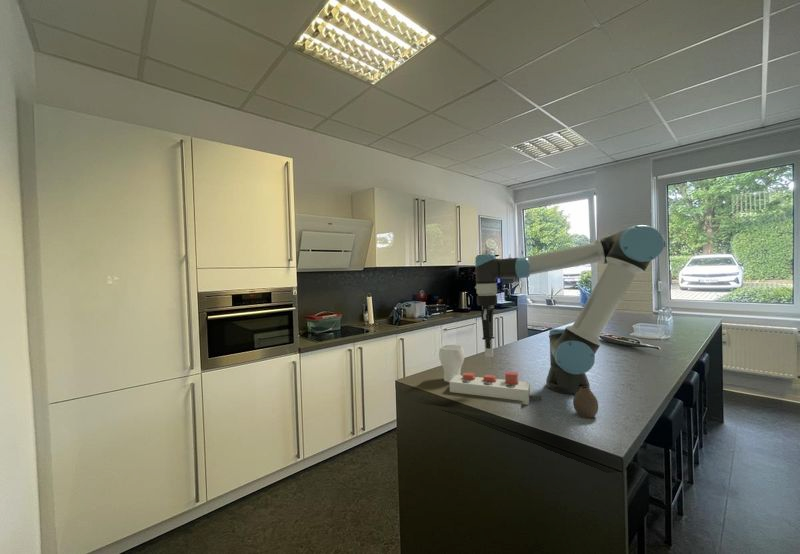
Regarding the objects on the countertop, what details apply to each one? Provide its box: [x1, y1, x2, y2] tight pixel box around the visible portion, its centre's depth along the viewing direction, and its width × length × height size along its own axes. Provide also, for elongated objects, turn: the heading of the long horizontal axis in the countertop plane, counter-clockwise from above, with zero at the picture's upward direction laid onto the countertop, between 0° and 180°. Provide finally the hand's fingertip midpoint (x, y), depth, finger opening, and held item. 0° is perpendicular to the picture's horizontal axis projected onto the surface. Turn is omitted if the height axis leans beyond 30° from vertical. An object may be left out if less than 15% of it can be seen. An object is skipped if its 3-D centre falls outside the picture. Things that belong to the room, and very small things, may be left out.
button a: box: [504, 371, 519, 385], centre depth 119 cm, size 4×3×4 cm
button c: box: [462, 372, 476, 380], centre depth 126 cm, size 4×3×4 cm
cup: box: [438, 344, 465, 383], centre depth 137 cm, size 11×11×15 cm
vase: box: [572, 386, 599, 419], centre depth 101 cm, size 7×7×9 cm
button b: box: [483, 373, 497, 383], centre depth 123 cm, size 4×3×4 cm
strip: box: [448, 374, 542, 405], centre depth 120 cm, size 32×9×5 cm, turn 65°
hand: (489, 356), depth 123 cm, fingers closed
